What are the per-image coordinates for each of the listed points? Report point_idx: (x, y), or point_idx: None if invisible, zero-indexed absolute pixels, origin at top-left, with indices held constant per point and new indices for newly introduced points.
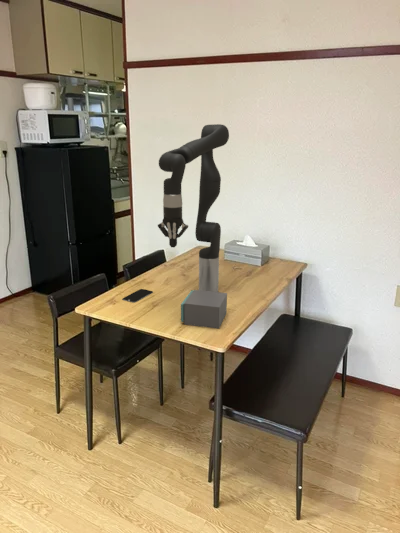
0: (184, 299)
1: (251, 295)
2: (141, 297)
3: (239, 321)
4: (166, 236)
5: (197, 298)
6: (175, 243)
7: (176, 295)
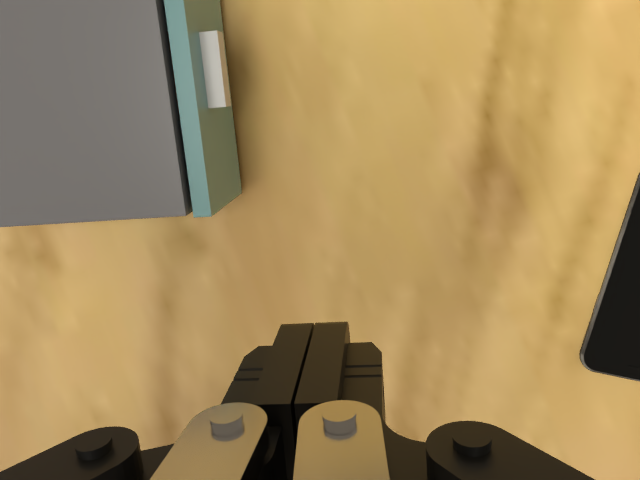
0: (185, 13)
1: None
2: (627, 252)
3: None
4: (452, 423)
5: (91, 51)
6: (245, 370)
7: (412, 356)
